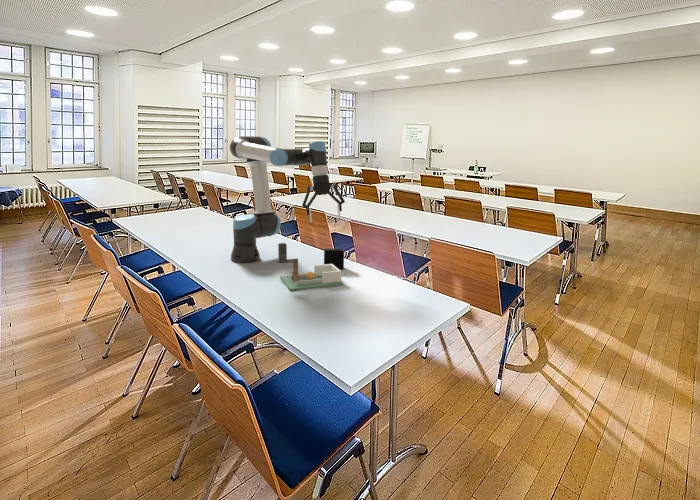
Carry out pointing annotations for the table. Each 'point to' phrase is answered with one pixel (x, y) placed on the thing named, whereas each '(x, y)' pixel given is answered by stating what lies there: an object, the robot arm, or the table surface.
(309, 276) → the ball
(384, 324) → the table surface
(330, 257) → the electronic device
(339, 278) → the pitch
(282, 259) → the striker
